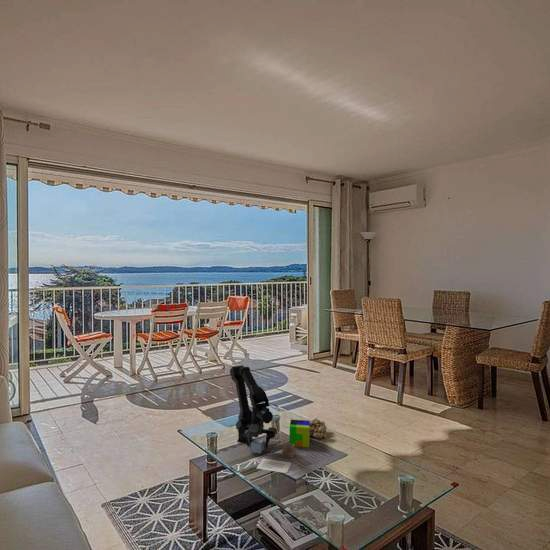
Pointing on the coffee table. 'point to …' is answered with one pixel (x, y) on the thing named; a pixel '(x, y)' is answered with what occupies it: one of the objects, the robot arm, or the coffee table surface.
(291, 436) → the puzzle toy
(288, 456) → the walnut block
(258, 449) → the blue cube
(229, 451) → the coffee table surface
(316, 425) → the mineral formation
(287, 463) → the letter
